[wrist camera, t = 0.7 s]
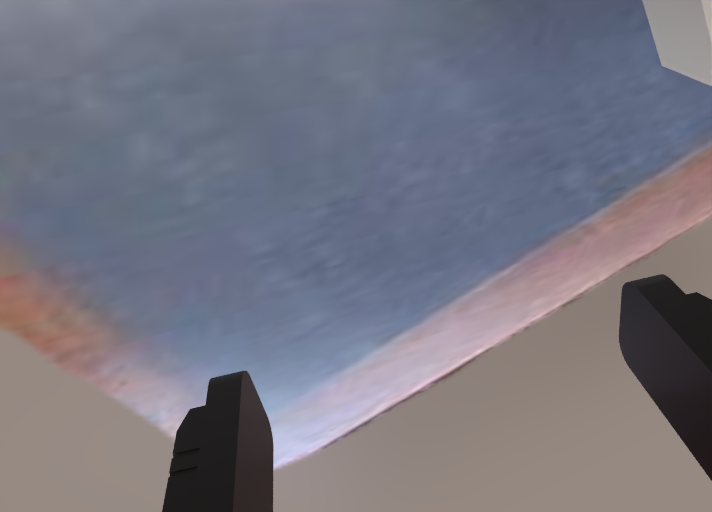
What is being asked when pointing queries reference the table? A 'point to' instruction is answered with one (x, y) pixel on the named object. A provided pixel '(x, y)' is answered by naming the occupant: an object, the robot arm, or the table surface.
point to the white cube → (683, 35)
